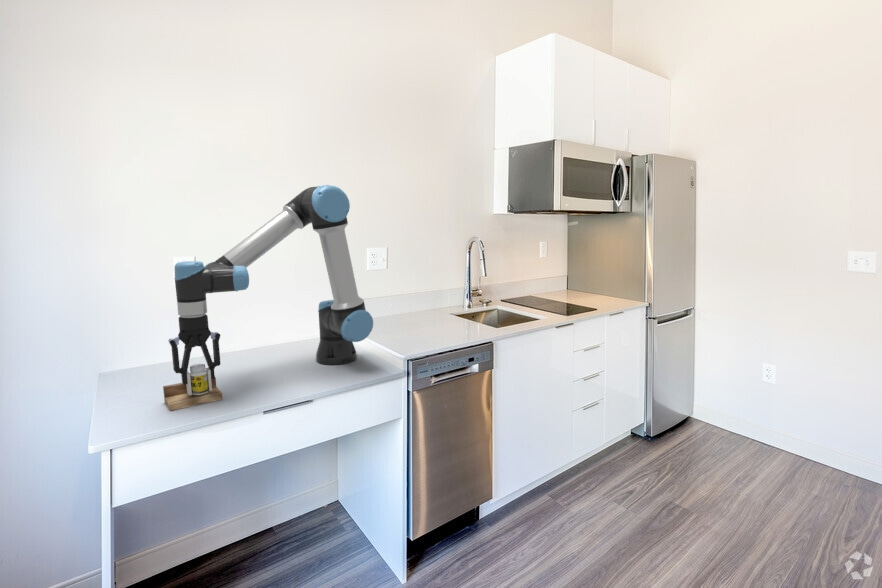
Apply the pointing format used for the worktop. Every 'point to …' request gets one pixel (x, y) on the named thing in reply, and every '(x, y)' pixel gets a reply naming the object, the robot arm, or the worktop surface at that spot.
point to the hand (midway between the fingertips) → (199, 391)
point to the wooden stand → (180, 399)
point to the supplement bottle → (198, 379)
